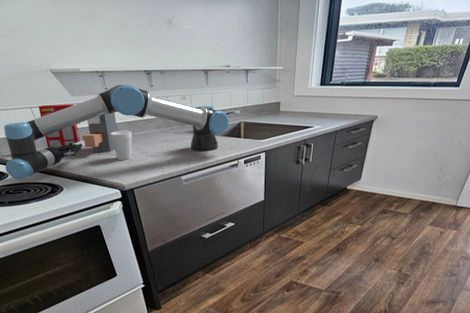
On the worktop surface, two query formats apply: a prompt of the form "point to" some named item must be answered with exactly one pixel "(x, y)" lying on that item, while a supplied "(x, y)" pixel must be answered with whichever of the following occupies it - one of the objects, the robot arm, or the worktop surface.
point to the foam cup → (122, 144)
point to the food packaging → (63, 135)
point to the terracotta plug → (93, 139)
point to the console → (105, 132)
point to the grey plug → (95, 120)
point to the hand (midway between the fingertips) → (83, 143)
